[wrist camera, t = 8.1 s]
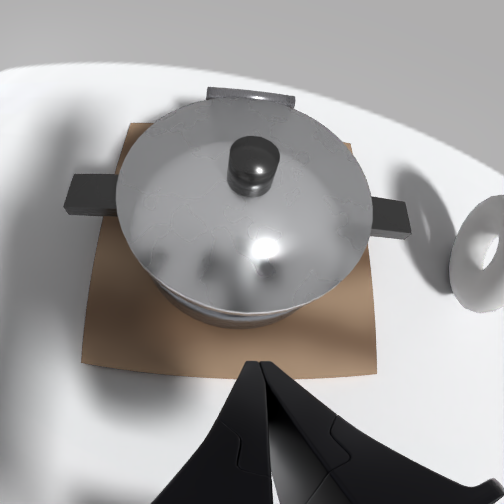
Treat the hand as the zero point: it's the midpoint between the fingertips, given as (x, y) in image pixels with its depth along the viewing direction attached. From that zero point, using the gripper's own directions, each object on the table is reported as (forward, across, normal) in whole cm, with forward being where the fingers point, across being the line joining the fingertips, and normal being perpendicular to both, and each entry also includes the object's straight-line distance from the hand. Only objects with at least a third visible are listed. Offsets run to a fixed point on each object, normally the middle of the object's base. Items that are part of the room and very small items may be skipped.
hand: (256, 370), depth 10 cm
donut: (+13, +20, -2) cm, 24 cm away
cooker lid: (+10, 0, +4) cm, 11 cm away
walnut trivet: (+14, 0, 0) cm, 14 cm away
